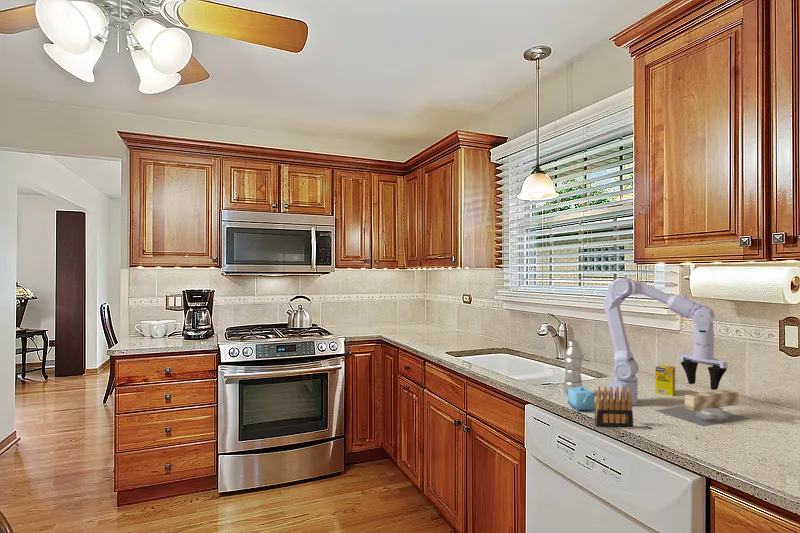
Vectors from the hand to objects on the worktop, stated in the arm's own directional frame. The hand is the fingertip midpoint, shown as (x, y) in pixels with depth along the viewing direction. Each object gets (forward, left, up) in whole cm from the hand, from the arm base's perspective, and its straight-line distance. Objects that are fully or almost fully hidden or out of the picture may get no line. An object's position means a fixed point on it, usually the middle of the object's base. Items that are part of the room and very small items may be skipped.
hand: (702, 386), depth 155 cm
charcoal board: (0, +1, -10) cm, 10 cm away
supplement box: (+16, +21, -10) cm, 28 cm away
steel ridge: (-1, -3, -9) cm, 10 cm away
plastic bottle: (-12, +40, -10) cm, 43 cm away
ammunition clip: (-32, +9, -10) cm, 35 cm away
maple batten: (-1, -3, -5) cm, 6 cm away
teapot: (-26, +25, -10) cm, 38 cm away
